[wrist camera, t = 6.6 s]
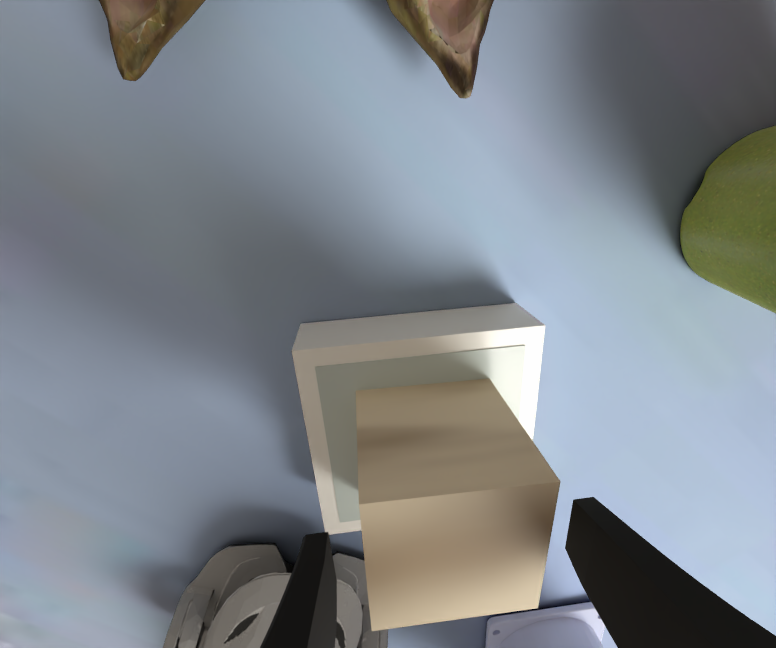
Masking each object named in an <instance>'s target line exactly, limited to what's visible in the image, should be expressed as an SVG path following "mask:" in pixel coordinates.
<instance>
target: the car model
mask: <svg viewBox="0 0 776 648" xmlns="http://www.w3.org/2000/svg"><path fill="white" fill-rule="evenodd" d="M332 556H333V561H334V567H335V573H336V578H337V627H336V639H335V648H388V629H385V630H378V631H372V629H371V619H370V610H369V600H368V590H367V580H366V570H365V560H364V559H360V558H357V557H354V556H351V555H348V554H344V553H341V552H338V551H337V552H335V553H334V554H332ZM293 568H294V566H292V565H291V564H289V563H288V562H286V561H285V560H284V559H283V557H282V555H281V553H280V551H279V550H278V548H277V546H276V544H275V543H266V544H236V545H231V546H228V547H226V548H225V549H223V550H221V551H219V552H218V553H216V554H215V555H214V556H213V557H212V558H210V560H209V561H208V563H207V564H206V565H205V567H204V568H203V569H202V571H201V572H200V573H199V575H198V576H197V577H196V578H195V579H194V580H193V581H192V582H191V583H190V584H189V585H188V586H187V587H186V589H185V591H184V592H183V594H182V596H181V598H180V601H179V603H178V606H177V608H176V611H175V614H174V616H173V619H172V622H171V625H170V627H169V630H168V633H167V636H166V639H165V643H164V646H163V648H260V646H261V644H262V642H263V640H264V638H265V636H266V633H267V631H268V629H269V627H270V625H271V622H272V620H273V617H274V615H275V613H276V610H277V608H278V606H279V603H280V601H281V599H282V596H283V594H284V591H285V589H286V586H287V584H288V581H289V578H290V576H291V573H292V571H293ZM232 573H233V574H232Z"/></svg>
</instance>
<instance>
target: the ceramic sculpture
mask: <svg viewBox="0 0 776 648" xmlns="http://www.w3.org/2000/svg"><path fill="white" fill-rule="evenodd" d="M99 1H100V4H101V6H102V8H103V11H104V13H105V15H106V18H107V21H108V27H109V33H110V40H111V44H112V48H113V52H114V56H115V60H116V63H117V67H118V70H119V72H120V74H121V76H122V78H123V79H125V80H129V81H136V80H138V79H139V78H140V77H141V76H142V75H143V74H144V73H145V71H146V70H147V69H148V68H149V66H150V65H151V64H152V62H153V61H154V59H155V58H156V56H157V55H158V53H159V52H160V51H161V49H162V48H163V47H164V46H165V44H166V43H167V42H168V41H169V40H170V39H171V38H172V37H173V36H174V35H175V34H176V33H177V32H178V31H179V30H180V29H181V27H182V26H183V25H184V24H185V23H186V22H187V21H188V20H189V19H190V18H191V16H192V15H193V14H194V13H195V12H196V11H197V9H198V8H199V7H200V6H201V5H202V4H203V2H204V1H205V0H99ZM493 1H494V0H387V3H388V5H389V8H390V10H391V12H392V13H393V15H394V16H395V17H396V18H397V19H398V21H399V22H400V23H401V24H402V25H403V27H404V28H405V29H406V30H407V31H408V32H409V34H410V35H411V36H412V37H413V38H414V39H415V41H416V42H417V43H418V44H419V45H420V46H421V47H422V49H423V50H424V51H425V52H426V53H427V54H428V55H429V57H430V58H431V59H432V60H433V61H434V62H435V63H436V65H437V66H438V68H439V69H440V71H441V72H442V74H443V76H444V77H445V79H446V80H447V82H448V84H449V85H450V87H451V88H452V89H453V90H454V92H455V93H456V94H457V95H458V96H459V98H468V97H470V96H471V93H472V89H473V85H474V80H475V75H476V70H477V63H478V55H479V47H480V43H481V41H482V38H483V36H484V33H485V30H486V26H487V22H488V18H489V13H490V9H491V6H492V4H493Z"/></svg>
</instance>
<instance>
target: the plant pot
mask: <svg viewBox="0 0 776 648" xmlns="http://www.w3.org/2000/svg"><path fill="white" fill-rule="evenodd" d="M680 243H681V247H682V252H683V255H684V257H685V260H686V261H687V263H688V265H689V266H690V268H691V269H692V270H693V271H694V272H695V273H696V274H697V275H699V276H700V277H702V278H703V279H705V280H707V281H708V282H710V283H713V284H715V285H717V286H719V287H721V288H723V289H725V290H727V291H729V292H732V293H734V294H736V295H738V296H740V297H742V298H744V299H747V300H749V301H751V302H753V303H755V304H757V305H759V306H761V307H763V308H765V309H768V310H770V311H772V312H774V313H776V126H772V127H769V128H765V129H761V130H759V131H756V132H754V133H752V134H749V135H747V136H746V137H744V138H742V139H741V140H739V141H737V142H736V143H734V144H733V145H732V146H730V147H729V148H728V149H727V150H725V151H724V152H723V153H722V154H721V155H720V156H718V157H717V158H716V160H715V161H714V162H713V163H712V164H711V165H710V166H709V167H708V168H707V170H706V172H705V176H704V179H703V182H702V184H701V186H700V188H699V190H698V191H697V193H696V195H695V196H694V198H693V199H692V201H691V202H690V204H689V205H688V206H687V207H686V208H685V210H684V213H683V216H682V221H681V230H680Z"/></svg>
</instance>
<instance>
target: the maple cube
mask: <svg viewBox="0 0 776 648" xmlns="http://www.w3.org/2000/svg"><path fill="white" fill-rule="evenodd" d="M356 421H357V456H358V491H359V510H360V520H361V530H362V540H363V550H364V560H365V570H366V580H367V590H368V600H369V610H370V619H371V629H372V631H378V630H385V629H392V628H399V627H407V626H414V625H421V624H428V623H435V622H443V621H450V620H457V619H464V618H471V617H478V616H486V615H493V614H500V613H507V612H514V611H522V610H529V609H536V608H538V605H539V599H540V594H541V588H542V582H543V577H544V571H545V565H546V560H547V554H548V549H549V543H550V537H551V532H552V526H553V520H554V515H555V509H556V503H557V498H558V492H559V486H560V480H559V479H558V477H557V476H556V475H555V473H554V472H553V470H552V469H551V467H550V466H549V464H548V463H547V461H546V460H545V458H544V457H543V456H542V454H541V453H540V451H539V450H538V448H537V447H536V445H535V444H534V442H533V441H532V440H531V438H530V437H529V435H528V434H527V432H526V431H525V429H524V428H523V426H522V425H521V424H520V422H519V421H518V419H517V418H516V416H515V415H514V413H513V412H512V410H511V409H510V408H509V406H508V405H507V403H506V402H505V400H504V399H503V397H502V396H501V394H500V393H499V392H498V390H497V389H496V387H495V386H494V384H493V383H492V381H491V380H490V378H489V379H478V380H467V381H456V382H445V383H434V384H423V385H412V386H401V387H390V388H378V389H367V390H356Z"/></svg>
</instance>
